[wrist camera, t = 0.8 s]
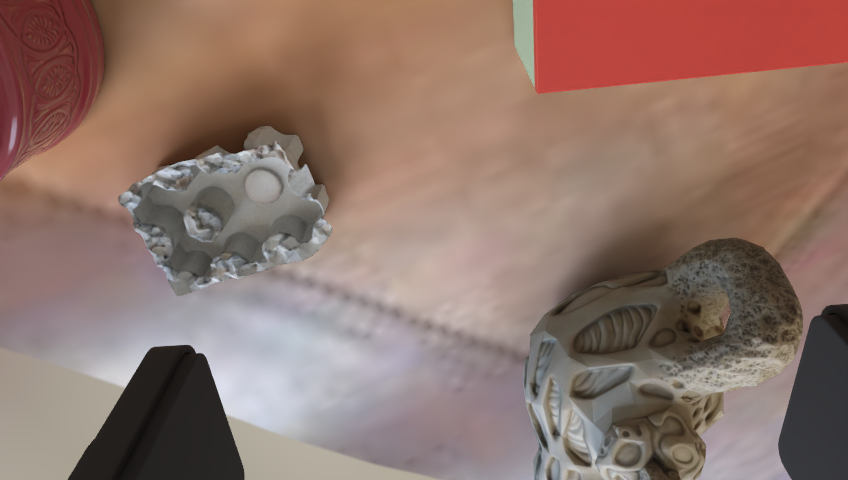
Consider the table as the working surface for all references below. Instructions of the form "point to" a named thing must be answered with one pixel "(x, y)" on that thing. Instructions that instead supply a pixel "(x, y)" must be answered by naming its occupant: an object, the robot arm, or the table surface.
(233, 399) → the table surface
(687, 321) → the teapot
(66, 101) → the kitchen canister
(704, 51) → the lid
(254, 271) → the egg carton
